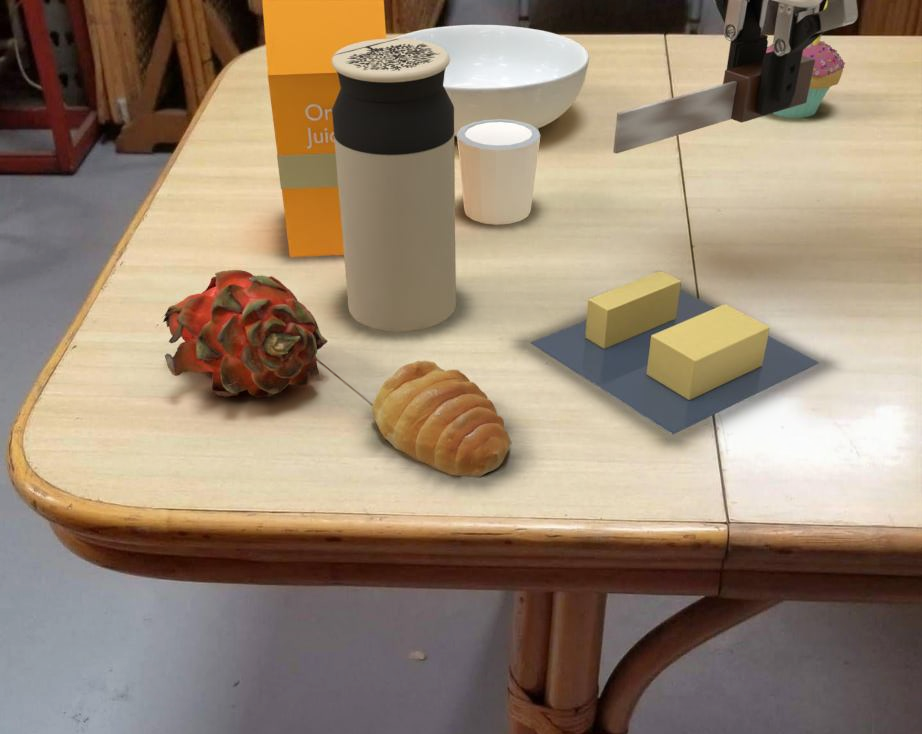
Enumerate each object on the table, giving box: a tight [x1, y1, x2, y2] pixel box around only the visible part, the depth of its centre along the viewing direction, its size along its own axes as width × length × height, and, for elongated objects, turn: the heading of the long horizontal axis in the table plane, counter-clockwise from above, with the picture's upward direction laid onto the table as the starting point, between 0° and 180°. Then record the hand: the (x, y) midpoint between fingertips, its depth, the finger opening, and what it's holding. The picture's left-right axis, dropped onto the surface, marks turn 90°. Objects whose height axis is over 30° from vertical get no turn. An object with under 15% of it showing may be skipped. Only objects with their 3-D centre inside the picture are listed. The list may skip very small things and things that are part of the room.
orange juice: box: [261, 0, 387, 258], centre depth 82 cm, size 8×9×20 cm
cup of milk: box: [456, 119, 541, 226], centre depth 90 cm, size 7×7×7 cm
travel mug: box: [332, 38, 457, 332], centre depth 74 cm, size 8×8×18 cm
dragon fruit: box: [156, 269, 328, 398], centre depth 70 cm, size 8×8×12 cm
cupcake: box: [766, 0, 846, 119], centre depth 106 cm, size 9×8×12 cm
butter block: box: [647, 303, 771, 400], centre depth 71 cm, size 7×4×3 cm, turn 127°
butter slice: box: [585, 270, 682, 349], centre depth 75 cm, size 7×2×3 cm, turn 127°
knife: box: [613, 56, 815, 155], centre depth 72 cm, size 18×2×3 cm, turn 128°
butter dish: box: [529, 288, 820, 436], centre depth 74 cm, size 14×14×1 cm
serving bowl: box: [393, 24, 590, 137], centre depth 106 cm, size 21×21×7 cm
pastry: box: [371, 360, 512, 478], centre depth 66 cm, size 9×7×4 cm
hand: (756, 102), depth 75 cm, fingers closed on knife, 2 cm apart
